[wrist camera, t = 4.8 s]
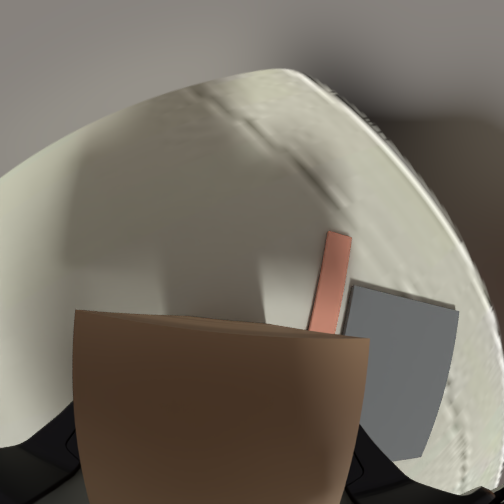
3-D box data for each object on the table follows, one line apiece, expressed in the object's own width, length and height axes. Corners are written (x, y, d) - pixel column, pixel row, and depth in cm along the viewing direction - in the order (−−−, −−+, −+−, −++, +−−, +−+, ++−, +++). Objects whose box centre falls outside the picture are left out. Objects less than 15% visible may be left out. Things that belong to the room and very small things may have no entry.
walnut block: (259, 399, 14) (325, 542, 3) (180, 391, 14) (95, 522, 2) (266, 323, 16) (369, 338, 4) (185, 315, 15) (75, 309, 4)
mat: (418, 455, 14) (420, 456, 13) (304, 461, 14) (306, 464, 13) (455, 311, 17) (459, 311, 16) (351, 285, 16) (354, 285, 16)
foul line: (282, 493, 13) (283, 495, 12) (259, 491, 13) (259, 494, 12) (349, 238, 17) (351, 237, 17) (327, 232, 17) (329, 230, 17)
